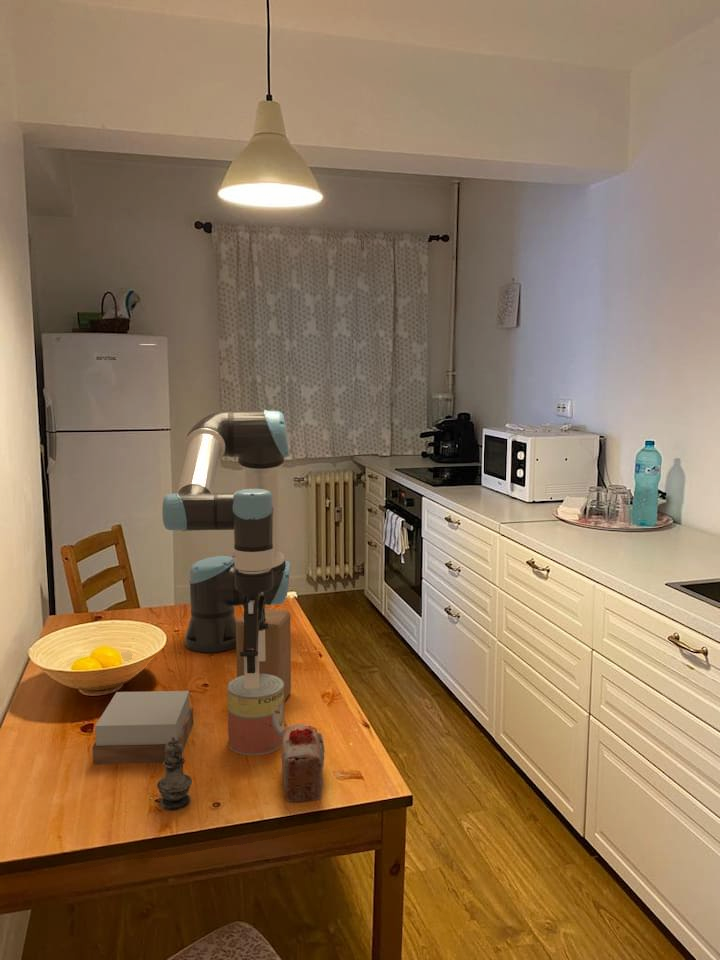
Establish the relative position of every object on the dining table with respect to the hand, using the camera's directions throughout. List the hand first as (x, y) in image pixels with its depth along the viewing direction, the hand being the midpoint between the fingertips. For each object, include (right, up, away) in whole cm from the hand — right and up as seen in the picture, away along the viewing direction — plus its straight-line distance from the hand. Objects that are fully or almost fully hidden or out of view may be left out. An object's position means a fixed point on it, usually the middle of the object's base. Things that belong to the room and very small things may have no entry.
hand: (255, 673), depth 148 cm
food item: (+10, -17, -12) cm, 23 cm away
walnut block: (-22, -15, +2) cm, 27 cm away
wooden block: (-1, -12, +21) cm, 24 cm away
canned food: (0, -14, +2) cm, 15 cm away
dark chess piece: (-11, -17, -19) cm, 28 cm away
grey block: (-22, -11, +1) cm, 25 cm away
